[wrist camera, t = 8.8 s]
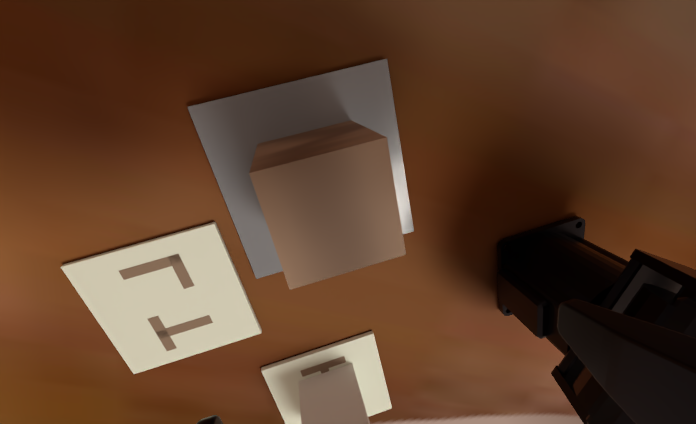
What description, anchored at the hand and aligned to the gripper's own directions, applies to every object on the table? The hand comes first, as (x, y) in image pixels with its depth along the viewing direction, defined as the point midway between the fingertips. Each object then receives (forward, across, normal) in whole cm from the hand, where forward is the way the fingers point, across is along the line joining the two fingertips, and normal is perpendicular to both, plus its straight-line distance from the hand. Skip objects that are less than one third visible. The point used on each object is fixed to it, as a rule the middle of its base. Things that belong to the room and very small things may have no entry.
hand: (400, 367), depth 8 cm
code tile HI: (+12, +3, +14) cm, 19 cm away
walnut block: (+12, 0, -2) cm, 12 cm away
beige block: (+12, +3, +14) cm, 19 cm away
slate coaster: (+12, 0, -2) cm, 12 cm away
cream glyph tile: (+12, +10, +3) cm, 16 cm away
